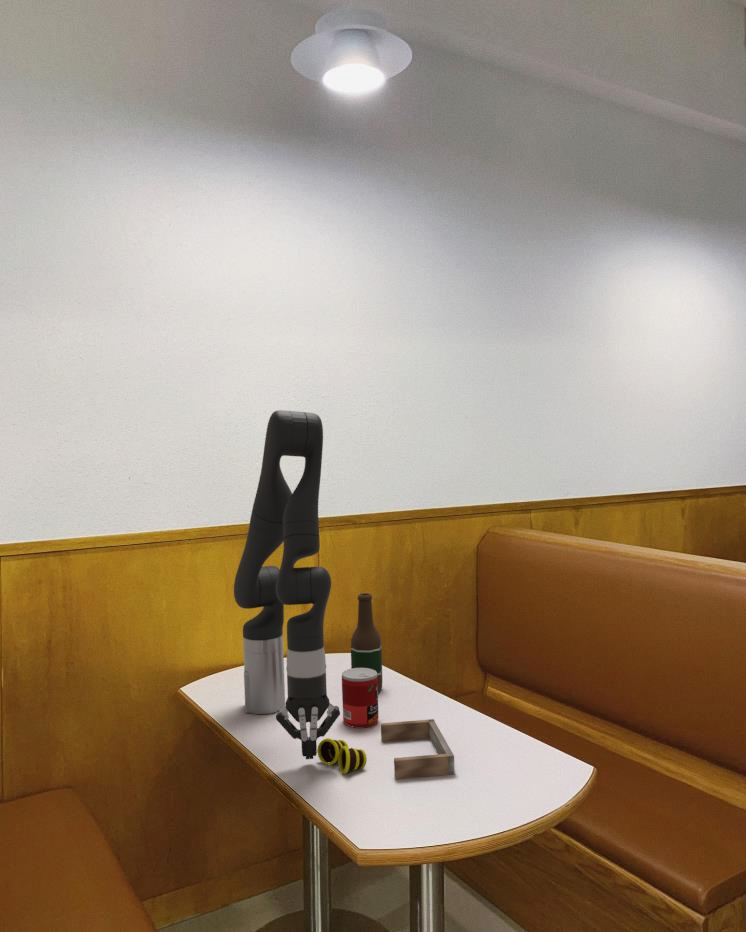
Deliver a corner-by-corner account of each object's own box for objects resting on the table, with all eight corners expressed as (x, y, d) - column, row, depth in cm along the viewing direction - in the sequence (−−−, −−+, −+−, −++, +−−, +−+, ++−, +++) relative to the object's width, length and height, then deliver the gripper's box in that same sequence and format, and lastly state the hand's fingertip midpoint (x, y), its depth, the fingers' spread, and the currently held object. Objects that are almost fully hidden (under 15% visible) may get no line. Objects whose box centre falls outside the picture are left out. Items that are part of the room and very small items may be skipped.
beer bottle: (388, 687, 195) (386, 592, 194) (372, 697, 189) (369, 599, 187) (362, 682, 199) (360, 589, 198) (345, 692, 193) (342, 595, 192)
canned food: (375, 729, 169) (373, 679, 169) (339, 727, 171) (337, 677, 170) (381, 716, 177) (380, 668, 176) (347, 714, 178) (345, 666, 178)
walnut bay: (395, 779, 145) (395, 760, 145) (381, 739, 163) (380, 723, 163) (454, 774, 147) (454, 755, 147) (433, 735, 165) (433, 719, 165)
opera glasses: (367, 774, 150) (370, 748, 150) (345, 777, 146) (349, 750, 147) (336, 758, 157) (339, 733, 158) (315, 761, 154) (318, 735, 154)
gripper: (338, 661, 156) (341, 747, 157) (271, 666, 154) (274, 752, 155) (342, 673, 148) (345, 763, 149) (272, 678, 147) (275, 768, 148)
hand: (309, 757), depth 152 cm, fingers closed
